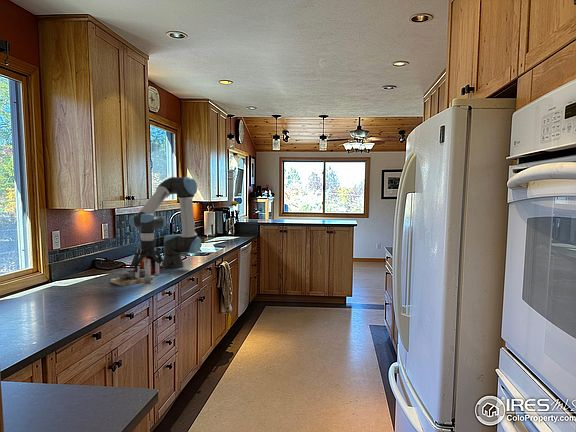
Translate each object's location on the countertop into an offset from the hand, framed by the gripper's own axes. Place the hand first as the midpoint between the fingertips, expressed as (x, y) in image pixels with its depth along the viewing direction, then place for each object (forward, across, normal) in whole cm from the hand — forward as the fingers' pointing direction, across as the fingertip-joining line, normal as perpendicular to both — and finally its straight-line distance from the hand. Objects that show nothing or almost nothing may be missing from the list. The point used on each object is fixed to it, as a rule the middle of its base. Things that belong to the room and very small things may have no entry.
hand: (147, 275), depth 227 cm
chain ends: (+4, +3, -11) cm, 12 cm away
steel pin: (+4, 0, 0) cm, 4 cm away
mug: (+5, -17, -21) cm, 27 cm away
